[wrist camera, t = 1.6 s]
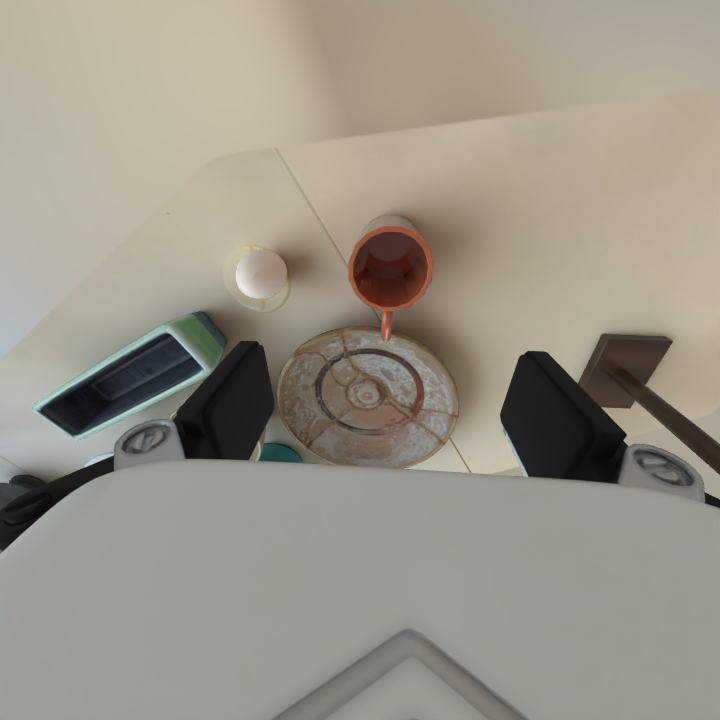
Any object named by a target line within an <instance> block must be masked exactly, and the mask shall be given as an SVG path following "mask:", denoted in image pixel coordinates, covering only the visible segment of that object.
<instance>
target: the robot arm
mask: <svg viewBox="0 0 720 720" xmlns="http://www.w3.org/2000/svg"><path fill="white" fill-rule="evenodd" d="M273 409H274V398H273V393H272V388H271V382H270V377H269V372H268V367H267V362H266V356H265V351H264V347H263V346H262V345H259V343H258V342H257V341H240V342H239V343H238V344H237V345H236V346H235V348H234V349H233V350H232V351H231V352H230V353H229V354H228V355H227V356H226V358H225V359H224V360H223V361H222V362H221V363H220V364H219V365H218V366H217V367H216V369H215V370H214V371H213V372H212V373H211V374H210V375H209V376H208V377H207V378H206V380H205V381H204V382H203V383H202V384H201V385H200V386H199V387H198V388H197V390H196V391H195V392H194V393H193V394H192V395H191V396H190V397H189V398H188V399H187V401H186V402H185V403H184V404H183V405H182V406H181V407H180V408H179V409H178V410H177V412H176V413H177V416H176V417H175V418H174V419H173V420H172V421H170V420H166V419H157V420H151V421H147V422H144V423H142V424H139V425H137V426H135V427H133V428H132V429H130V430H128V431H127V432H126V433H124V434H123V435H122V436H121V437H120V438H119V439H118V441H117V442H116V444H115V447H114V455H113V456H111V457H108V458H106V459H103V460H101V461H99V462H96V463H94V464H92V465H89V466H87V467H85V468H82V469H80V470H78V471H75V472H73V473H71V474H68V475H66V476H64V477H61V478H59V479H56V480H54V481H52V482H49V483H47V484H45V485H42V486H40V487H38V488H35V489H33V490H31V491H29V492H27V493H25V494H23V495H21V496H19V497H17V498H16V499H14V500H13V501H12V502H10V503H8V504H7V505H6V506H5V507H4V508H2V509H1V510H0V720H720V500H719V499H718V498H715V497H713V496H711V495H709V494H707V493H705V491H704V482H703V479H702V477H701V476H700V474H699V473H698V472H697V471H696V470H695V469H694V468H693V467H692V466H691V465H690V464H688V463H687V462H686V461H684V460H683V459H681V458H679V457H678V456H676V455H674V454H672V453H670V452H668V451H666V450H663V449H661V448H658V447H655V446H651V445H646V444H633V445H631V446H628V445H627V444H626V443H625V442H624V441H623V440H624V439H625V437H626V436H627V434H626V433H625V432H624V431H623V430H622V429H621V428H620V427H619V426H618V425H617V424H616V423H615V422H614V421H613V420H612V419H611V418H610V417H609V416H608V414H607V413H606V412H605V411H604V410H603V409H602V408H601V407H600V406H599V405H598V404H597V403H596V402H595V401H594V400H593V399H592V398H591V397H590V396H589V395H588V394H587V393H586V392H585V391H584V390H583V389H582V388H581V387H580V386H579V385H578V384H577V383H576V382H575V381H574V380H573V378H572V377H571V376H570V375H569V374H568V373H567V372H566V371H565V370H564V369H563V368H562V367H561V366H560V365H559V364H558V363H557V362H556V361H555V360H554V359H553V358H552V357H551V356H550V355H549V354H548V353H547V352H541V351H527V352H526V353H525V354H524V355H521V356H520V357H519V359H518V362H517V365H516V368H515V371H514V374H513V377H512V380H511V383H510V386H509V389H508V392H507V395H506V398H505V401H504V404H503V407H502V410H501V414H500V418H501V422H502V424H503V426H504V428H505V430H506V432H507V434H508V436H509V438H510V440H511V442H512V444H513V446H514V448H515V451H516V453H517V455H518V457H519V459H520V461H521V463H522V465H523V467H524V469H525V471H526V473H527V475H528V477H523V476H507V475H492V474H477V473H461V472H445V471H429V470H412V469H395V468H378V467H361V466H343V465H324V464H306V463H287V462H268V461H249V459H250V457H251V455H252V453H253V451H254V449H255V447H256V445H257V443H258V441H259V439H260V437H261V435H262V433H263V431H264V428H265V426H266V424H267V422H268V420H269V418H270V416H271V414H272V412H273Z"/></svg>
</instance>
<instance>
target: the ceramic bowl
mask: <svg viewBox="0 0 720 720" xmlns="http://www.w3.org/2000/svg"><path fill="white" fill-rule="evenodd" d="M277 403H278V408H279V413H280V415H281V418H282V420H283V422H284V424H285V426H286V427H287V429H288V431H289V432H290V433H291V434H292V436H293V437H294V438H295V439H296V440H297V441H298V442H299V443H300V444H301V445H302V446H303V447H305V448H306V449H307V450H308V451H310V452H311V453H312V454H314V455H315V456H317V457H319V458H321V459H323V460H325V461H327V462H329V463H331V464H334V465H343V466H361V467H378V468H395V469H404V468H407V467H410V466H413V465H416V464H418V463H421V462H423V461H424V460H426V459H428V458H430V457H431V456H433V455H434V454H435V453H436V452H437V451H439V450H440V449H441V448H442V447H443V446H444V445H445V443H446V442H447V440H448V439H449V437H450V436H451V434H452V432H453V430H454V427H455V425H456V422H457V419H458V413H459V398H458V392H457V388H456V385H455V382H454V380H453V378H452V376H451V374H450V372H449V371H448V369H447V367H446V366H445V365H444V363H443V362H442V361H441V360H440V359H439V358H438V357H437V356H436V354H434V353H433V352H432V351H431V350H430V349H428V348H427V347H426V346H424V345H423V344H421V343H420V342H418V341H417V340H415V339H413V338H411V337H408V336H406V335H404V334H401V333H398V332H395V331H392V330H391V339H390V340H389V341H388V342H384V341H383V340H382V339H381V328H377V327H364V326H356V327H346V328H341V329H335V330H332V331H328V332H325V333H322V334H320V335H318V336H316V337H314V338H312V339H310V340H308V341H307V342H305V343H304V344H302V345H301V346H300V347H299V348H298V349H297V350H296V351H295V352H294V353H293V354H292V355H291V356H290V358H289V359H288V360H287V362H286V364H285V365H284V367H283V369H282V371H281V374H280V377H279V380H278V387H277Z"/></svg>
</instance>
